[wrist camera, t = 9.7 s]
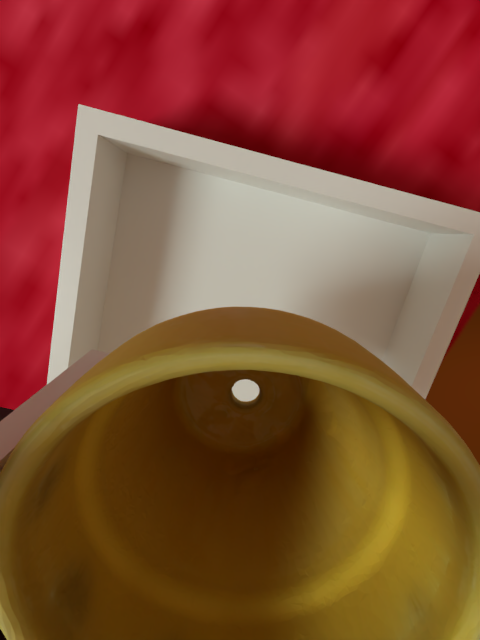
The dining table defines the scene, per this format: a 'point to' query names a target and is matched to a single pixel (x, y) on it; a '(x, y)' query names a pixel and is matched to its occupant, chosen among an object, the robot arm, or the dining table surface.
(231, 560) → the plant pot
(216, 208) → the bin
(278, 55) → the dining table surface
